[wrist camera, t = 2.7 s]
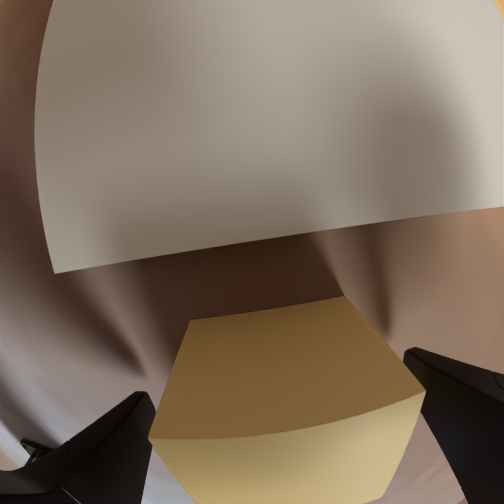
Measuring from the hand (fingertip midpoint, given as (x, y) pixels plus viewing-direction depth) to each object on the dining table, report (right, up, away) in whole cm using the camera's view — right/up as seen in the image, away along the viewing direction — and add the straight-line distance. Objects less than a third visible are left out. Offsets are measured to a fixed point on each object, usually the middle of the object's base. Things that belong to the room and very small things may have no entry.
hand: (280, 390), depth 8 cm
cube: (0, 0, +1) cm, 1 cm away
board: (+2, +15, -2) cm, 16 cm away
